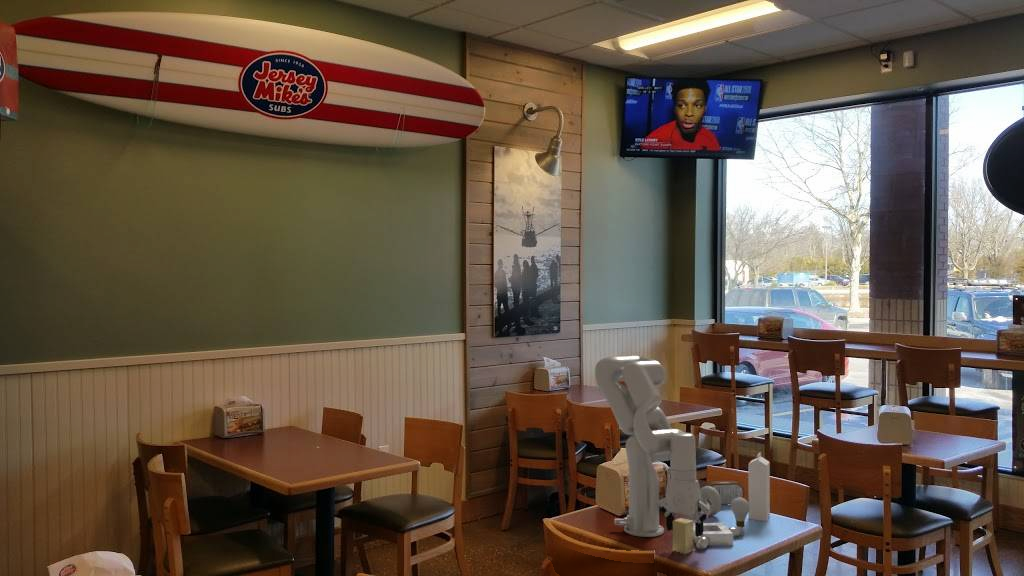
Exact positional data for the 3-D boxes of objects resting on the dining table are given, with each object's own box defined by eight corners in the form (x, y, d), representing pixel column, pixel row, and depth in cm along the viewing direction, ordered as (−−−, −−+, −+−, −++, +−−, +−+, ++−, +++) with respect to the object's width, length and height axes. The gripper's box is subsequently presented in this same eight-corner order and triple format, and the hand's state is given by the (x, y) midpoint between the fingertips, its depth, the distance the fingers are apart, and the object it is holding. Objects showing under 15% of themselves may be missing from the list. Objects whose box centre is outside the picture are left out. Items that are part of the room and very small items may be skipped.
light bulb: (750, 531, 256) (750, 500, 256) (731, 530, 257) (731, 499, 257) (748, 526, 261) (748, 495, 261) (730, 525, 263) (730, 494, 263)
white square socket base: (697, 545, 242) (697, 534, 242) (688, 534, 253) (688, 523, 253) (733, 545, 242) (733, 533, 242) (722, 533, 253) (722, 522, 253)
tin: (741, 502, 290) (741, 479, 290) (745, 505, 287) (745, 481, 287) (702, 504, 288) (702, 481, 288) (705, 506, 285) (705, 483, 285)
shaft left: (701, 543, 244) (701, 533, 244) (710, 544, 243) (710, 535, 243) (695, 549, 239) (695, 539, 239) (705, 550, 237) (705, 540, 237)
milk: (748, 519, 269) (747, 454, 269) (752, 514, 275) (751, 450, 274) (767, 521, 266) (766, 456, 266) (770, 516, 272) (769, 452, 272)
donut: (723, 518, 271) (723, 488, 271) (716, 519, 269) (716, 490, 269) (702, 511, 279) (702, 482, 279) (695, 512, 277) (695, 483, 277)
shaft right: (726, 539, 248) (726, 529, 248) (721, 536, 251) (721, 527, 251) (743, 537, 250) (743, 528, 249) (738, 534, 252) (738, 525, 252)
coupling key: (672, 551, 237) (672, 521, 237) (680, 547, 241) (680, 517, 241) (685, 554, 234) (685, 524, 234) (693, 550, 238) (693, 520, 238)
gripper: (651, 473, 240) (653, 530, 240) (702, 480, 228) (704, 540, 228) (665, 469, 246) (666, 525, 245) (715, 476, 234) (717, 535, 233)
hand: (684, 532), depth 237 cm, fingers open, 9 cm apart
